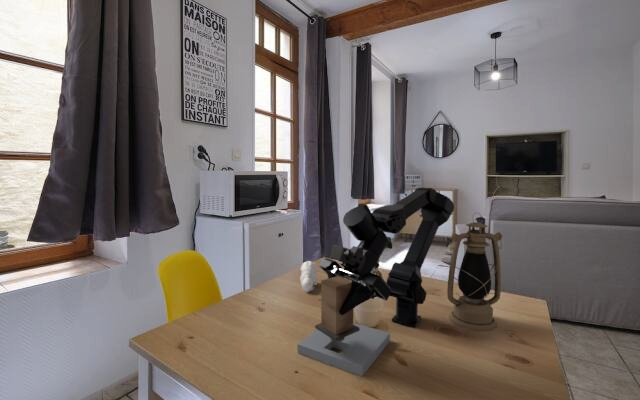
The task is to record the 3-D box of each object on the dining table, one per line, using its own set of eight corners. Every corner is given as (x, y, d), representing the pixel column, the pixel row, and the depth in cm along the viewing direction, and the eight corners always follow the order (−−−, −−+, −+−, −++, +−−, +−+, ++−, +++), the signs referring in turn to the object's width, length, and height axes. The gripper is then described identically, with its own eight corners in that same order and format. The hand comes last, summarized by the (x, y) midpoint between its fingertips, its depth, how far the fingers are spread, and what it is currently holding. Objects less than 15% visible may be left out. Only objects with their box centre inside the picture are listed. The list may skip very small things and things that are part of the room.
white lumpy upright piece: (317, 259, 118) (316, 272, 106) (318, 280, 120) (316, 296, 108) (300, 259, 118) (297, 272, 107) (301, 280, 120) (297, 296, 108)
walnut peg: (338, 327, 76) (338, 274, 75) (359, 339, 71) (359, 282, 70) (315, 336, 72) (314, 280, 71) (335, 350, 67) (335, 289, 65)
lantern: (487, 310, 94) (491, 209, 92) (511, 330, 83) (518, 215, 80) (438, 311, 94) (441, 209, 91) (456, 331, 82) (460, 215, 80)
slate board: (332, 324, 86) (332, 317, 86) (389, 341, 78) (390, 333, 78) (297, 352, 73) (297, 344, 73) (362, 376, 64) (362, 367, 64)
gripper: (324, 225, 79) (287, 278, 73) (382, 238, 64) (341, 305, 59) (348, 252, 85) (314, 303, 79) (406, 269, 70) (370, 333, 64)
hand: (332, 309), depth 70 cm, fingers closed on walnut peg, 5 cm apart
